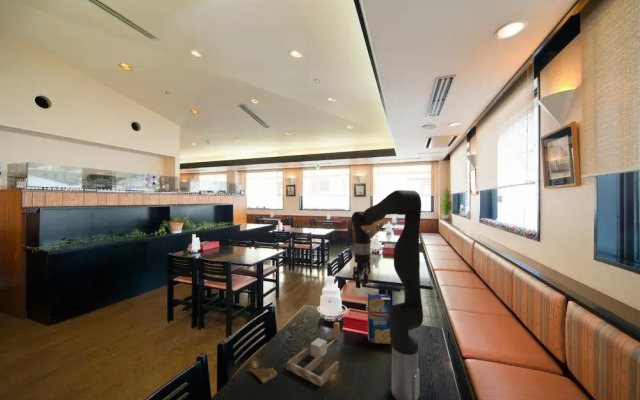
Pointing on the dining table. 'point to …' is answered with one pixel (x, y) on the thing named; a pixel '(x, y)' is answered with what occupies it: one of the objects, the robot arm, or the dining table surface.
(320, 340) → the corded block
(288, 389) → the dining table surface
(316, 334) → the dining table surface
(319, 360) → the birch lanes
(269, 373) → the shard
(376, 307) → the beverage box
